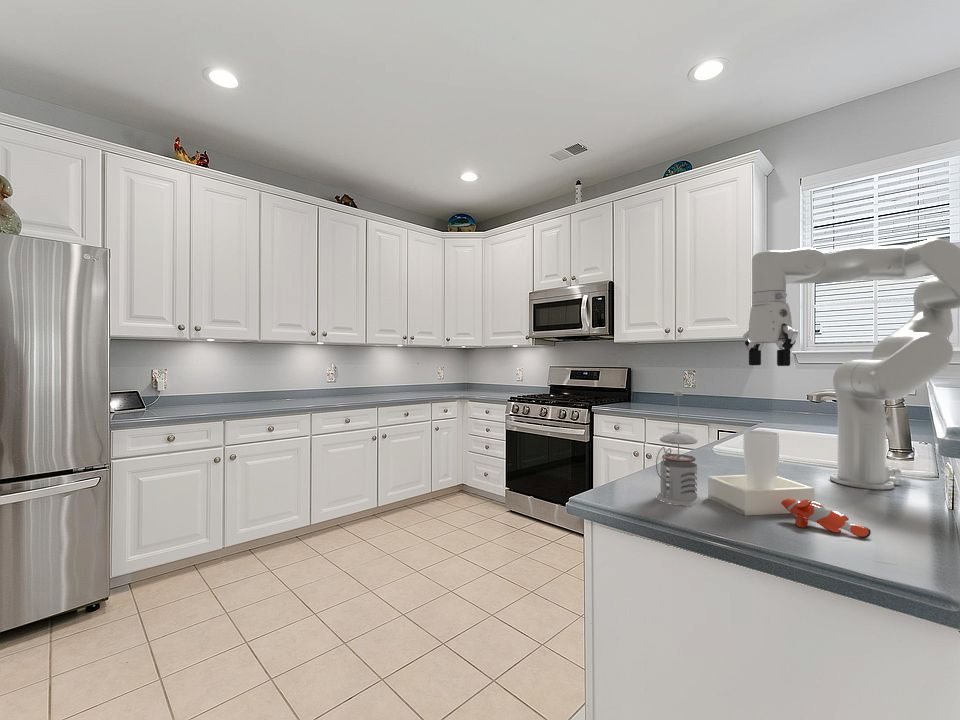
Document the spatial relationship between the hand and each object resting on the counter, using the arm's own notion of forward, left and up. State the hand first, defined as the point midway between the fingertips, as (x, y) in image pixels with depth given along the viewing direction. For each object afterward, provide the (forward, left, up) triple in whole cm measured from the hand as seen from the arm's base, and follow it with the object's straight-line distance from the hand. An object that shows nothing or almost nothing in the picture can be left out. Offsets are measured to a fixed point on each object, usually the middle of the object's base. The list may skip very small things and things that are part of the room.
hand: (768, 365), depth 119 cm
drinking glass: (+16, +16, -30) cm, 37 cm away
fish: (+15, +30, -31) cm, 46 cm away
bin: (+16, +16, -30) cm, 38 cm away
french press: (+32, +10, -31) cm, 45 cm away
